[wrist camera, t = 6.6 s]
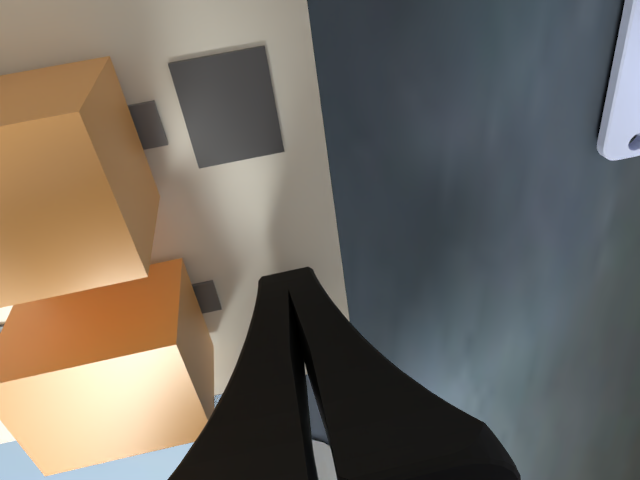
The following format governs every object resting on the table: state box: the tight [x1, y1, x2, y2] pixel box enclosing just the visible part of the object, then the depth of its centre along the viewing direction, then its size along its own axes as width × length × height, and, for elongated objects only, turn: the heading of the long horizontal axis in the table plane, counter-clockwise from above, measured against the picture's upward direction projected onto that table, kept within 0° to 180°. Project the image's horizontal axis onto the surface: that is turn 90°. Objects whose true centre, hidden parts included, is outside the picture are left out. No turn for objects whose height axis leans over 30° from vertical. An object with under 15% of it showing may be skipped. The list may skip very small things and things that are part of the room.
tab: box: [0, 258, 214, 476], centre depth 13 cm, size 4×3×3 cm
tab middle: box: [0, 56, 160, 308], centre depth 10 cm, size 4×3×3 cm
